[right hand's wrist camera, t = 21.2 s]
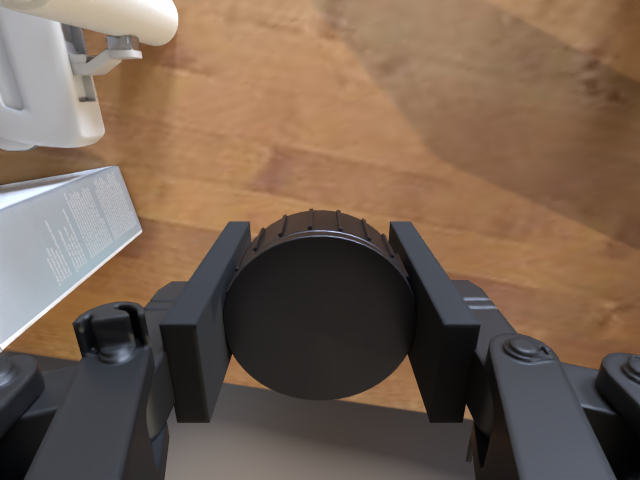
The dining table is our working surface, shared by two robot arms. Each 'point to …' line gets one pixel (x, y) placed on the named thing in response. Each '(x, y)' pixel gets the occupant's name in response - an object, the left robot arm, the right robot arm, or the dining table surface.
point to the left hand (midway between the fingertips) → (129, 1)
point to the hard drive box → (57, 240)
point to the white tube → (108, 16)
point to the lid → (319, 307)
